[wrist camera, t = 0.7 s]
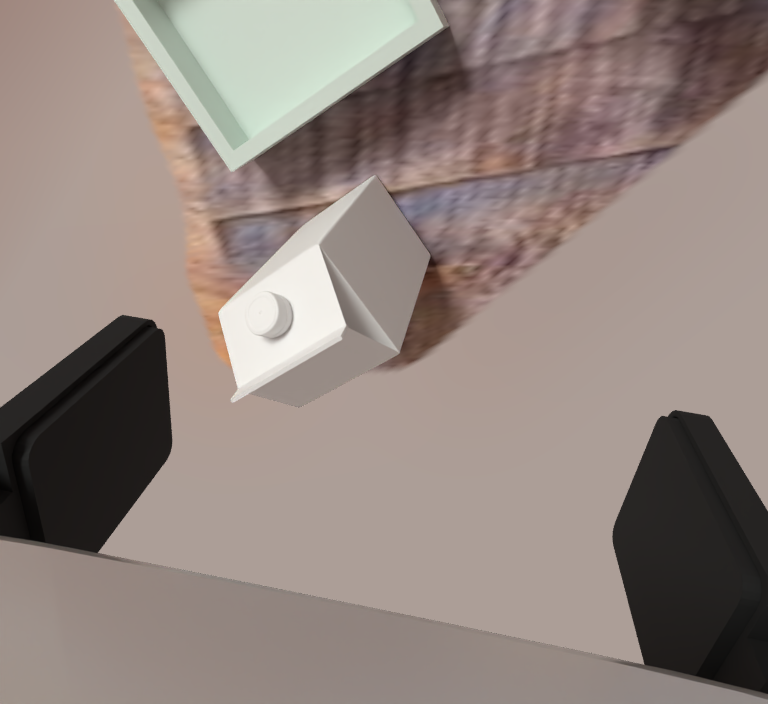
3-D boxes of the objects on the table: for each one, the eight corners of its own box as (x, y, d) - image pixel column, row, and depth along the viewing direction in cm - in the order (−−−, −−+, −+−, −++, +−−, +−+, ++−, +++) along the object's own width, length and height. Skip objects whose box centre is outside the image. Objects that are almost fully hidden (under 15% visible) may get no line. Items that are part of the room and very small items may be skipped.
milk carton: (432, 255, 44) (387, 396, 27) (357, 300, 47) (276, 452, 30) (376, 172, 41) (291, 272, 25) (301, 226, 44) (181, 346, 28)
